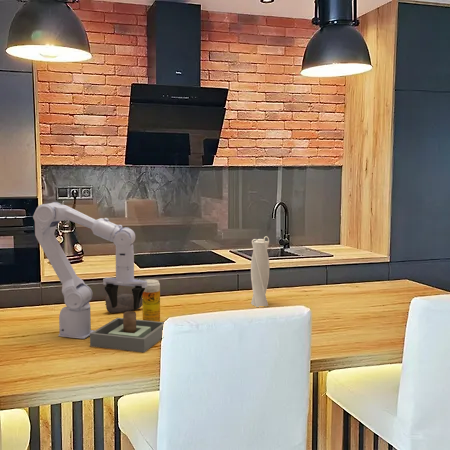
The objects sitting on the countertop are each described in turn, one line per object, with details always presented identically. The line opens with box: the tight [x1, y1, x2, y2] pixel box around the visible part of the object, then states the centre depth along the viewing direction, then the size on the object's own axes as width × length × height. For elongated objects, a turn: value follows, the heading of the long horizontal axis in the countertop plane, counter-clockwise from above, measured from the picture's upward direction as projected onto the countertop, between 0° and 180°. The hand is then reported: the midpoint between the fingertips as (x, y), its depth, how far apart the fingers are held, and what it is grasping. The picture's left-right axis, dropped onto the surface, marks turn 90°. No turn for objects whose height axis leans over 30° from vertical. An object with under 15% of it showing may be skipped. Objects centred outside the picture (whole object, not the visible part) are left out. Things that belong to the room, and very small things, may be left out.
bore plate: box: [108, 324, 151, 338], centre depth 174 cm, size 10×10×2 cm
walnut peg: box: [122, 310, 137, 333], centre depth 174 cm, size 4×4×8 cm
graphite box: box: [89, 317, 165, 353], centre depth 174 cm, size 18×18×4 cm
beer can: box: [141, 279, 161, 322], centre depth 192 cm, size 6×6×15 cm
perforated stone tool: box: [104, 293, 143, 313], centre depth 207 cm, size 15×5×7 cm, turn 115°
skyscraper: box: [250, 235, 270, 308], centre depth 216 cm, size 8×8×28 cm
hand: (125, 307), depth 177 cm, fingers open, 7 cm apart
